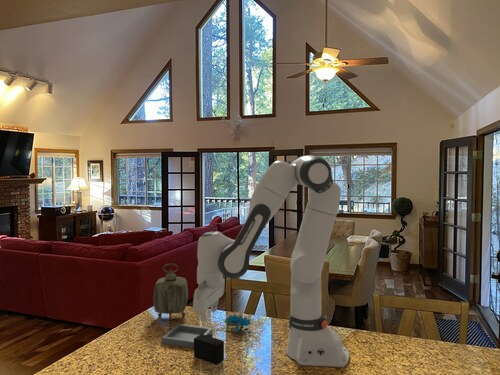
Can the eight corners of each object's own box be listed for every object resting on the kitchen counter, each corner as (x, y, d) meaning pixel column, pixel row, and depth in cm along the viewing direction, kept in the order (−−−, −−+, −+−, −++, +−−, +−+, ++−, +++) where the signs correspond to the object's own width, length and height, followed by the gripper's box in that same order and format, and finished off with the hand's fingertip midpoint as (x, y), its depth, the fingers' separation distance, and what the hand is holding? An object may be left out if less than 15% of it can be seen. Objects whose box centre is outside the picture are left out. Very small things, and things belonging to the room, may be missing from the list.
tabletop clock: (188, 314, 173) (187, 260, 172) (186, 322, 164) (185, 266, 163) (156, 315, 172) (155, 261, 171) (152, 323, 163) (151, 266, 162)
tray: (212, 334, 153) (212, 328, 153) (198, 349, 140) (198, 342, 140) (178, 329, 157) (178, 323, 157) (161, 343, 144) (161, 337, 144)
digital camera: (226, 358, 133) (226, 339, 133) (217, 365, 129) (217, 345, 128) (203, 351, 139) (203, 332, 138) (193, 357, 134) (193, 338, 134)
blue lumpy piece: (254, 323, 159) (246, 313, 153) (252, 337, 155) (244, 327, 149) (229, 323, 163) (221, 313, 156) (227, 337, 159) (218, 327, 152)
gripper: (206, 287, 122) (205, 329, 122) (227, 271, 141) (226, 307, 142) (188, 285, 123) (187, 326, 124) (212, 269, 143) (211, 305, 144)
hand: (208, 316), depth 133 cm, fingers open, 8 cm apart
